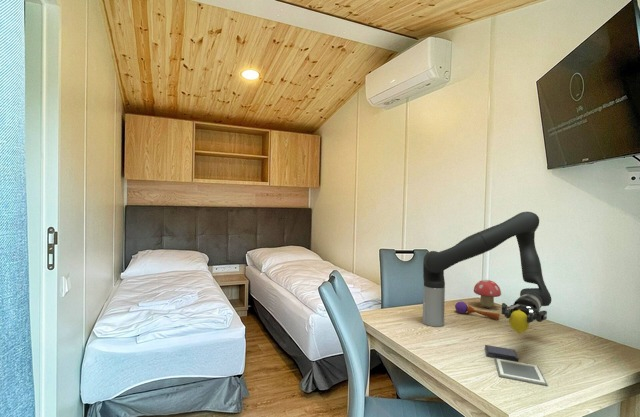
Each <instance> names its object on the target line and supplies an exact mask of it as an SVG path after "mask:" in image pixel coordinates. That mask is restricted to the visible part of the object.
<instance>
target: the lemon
mask: <svg viewBox="0 0 640 417" xmlns="http://www.w3.org/2000/svg"><path fill="white" fill-rule="evenodd" d="M529 325H530V323H527V315H526V314H525V313H524V312H522V311H521V310H517V311H514V312H512V314H511V315H510V318H509V326H510V328H512V330H513V331H515V332H516V333H517V334H522V333H525V332H526V331H527V330H528V329H529Z"/></svg>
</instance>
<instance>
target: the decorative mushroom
mask: <svg viewBox="0 0 640 417" xmlns="http://www.w3.org/2000/svg"><path fill="white" fill-rule="evenodd" d="M473 293H475V295H478V296H480V297H479V298H480V301H479V303H480V305H481V306H482V307H485V309H486V308H491V307H493V306H494V305H495V299H494V298H497V297H500V296H502V290H501V288H500V286H499V285H498V284H497V283H496V282H495V281H494V280H493V281H492V280H491V279H482V280H479V281H478V282H477V283H475V285H474V287H473Z"/></svg>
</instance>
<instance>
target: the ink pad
mask: <svg viewBox="0 0 640 417" xmlns="http://www.w3.org/2000/svg"><path fill="white" fill-rule="evenodd" d="M484 350H485V354H486V357H487V358H493V359H502V360H508V361H514V362H519V363H520V361H519V357H518V355H517V354H518V353H517V351H516V349H513V348H508V347H502V346H496V345H495V346H494V345H490V344H484Z"/></svg>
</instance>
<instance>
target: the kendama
mask: <svg viewBox="0 0 640 417" xmlns="http://www.w3.org/2000/svg"><path fill="white" fill-rule="evenodd" d="M454 308H455V311H456V312H457V313H458V314H464V315H465V314H466V313H467V314H473V313H477V314H479V315H482V316H484V317H487V318H490V319H493V320H495V321H499V320H500V313H497V312H491V311H483V310H477V309H475V308H474V307H473V306H471V305H468V304H467V303H466V302H465V301H457V302H456V304H455V306H454Z"/></svg>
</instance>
